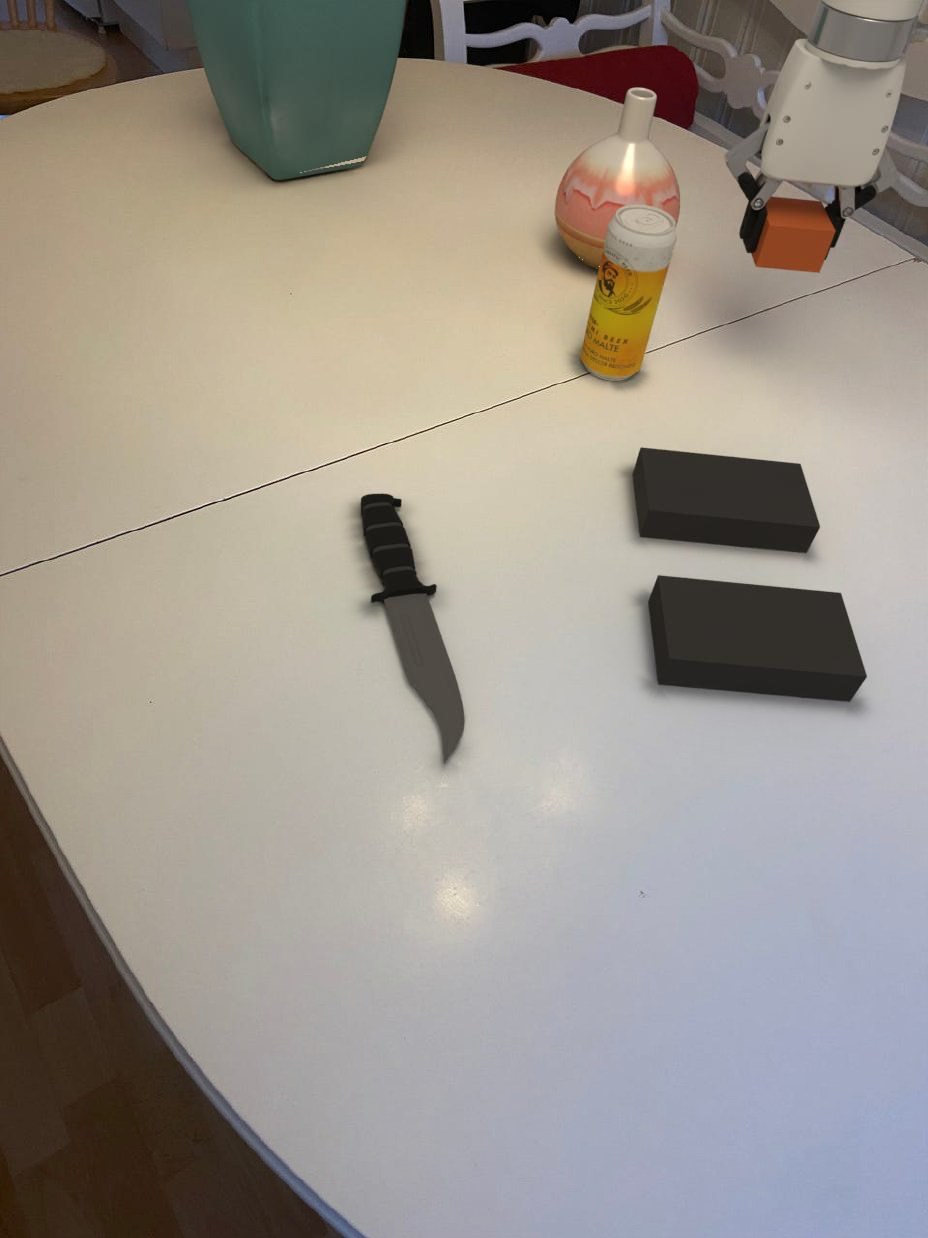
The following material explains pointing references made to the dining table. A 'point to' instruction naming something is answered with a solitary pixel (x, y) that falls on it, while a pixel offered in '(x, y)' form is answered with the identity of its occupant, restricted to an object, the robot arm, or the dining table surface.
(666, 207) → the vase
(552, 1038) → the dining table surface
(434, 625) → the knife
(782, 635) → the pads
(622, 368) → the beer can
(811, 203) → the link piece
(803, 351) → the dining table surface
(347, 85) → the flower pot
